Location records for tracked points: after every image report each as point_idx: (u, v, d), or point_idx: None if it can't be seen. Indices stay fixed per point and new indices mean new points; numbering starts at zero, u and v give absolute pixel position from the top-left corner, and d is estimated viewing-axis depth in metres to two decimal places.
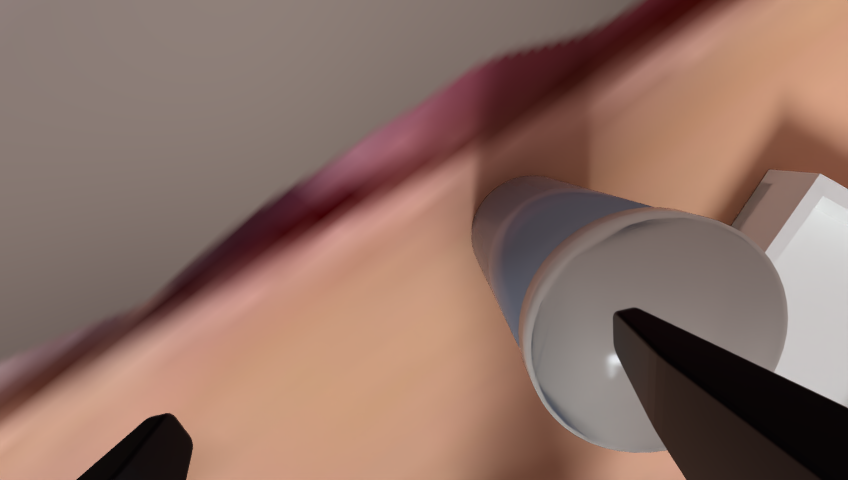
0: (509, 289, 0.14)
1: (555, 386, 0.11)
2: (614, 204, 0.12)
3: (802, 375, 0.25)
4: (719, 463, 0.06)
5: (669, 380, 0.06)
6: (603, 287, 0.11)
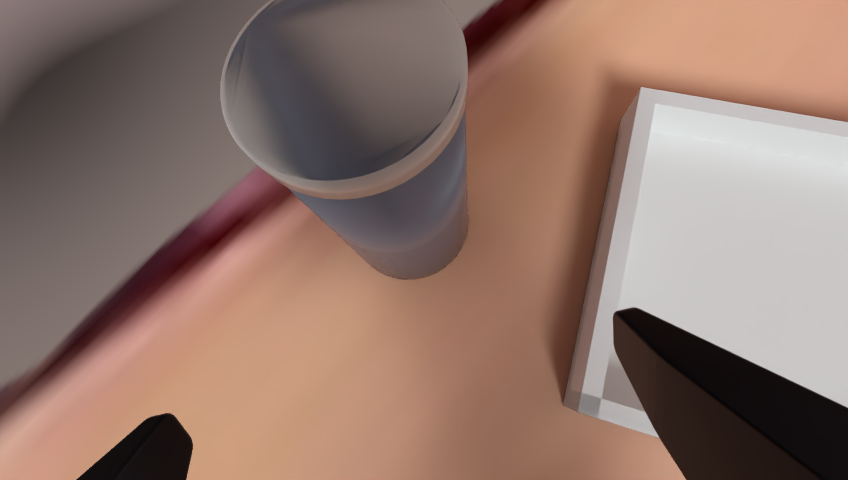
0: None
1: (251, 129, 0.11)
2: None
3: (785, 317, 0.19)
4: (719, 463, 0.06)
5: (669, 380, 0.06)
6: (281, 36, 0.12)
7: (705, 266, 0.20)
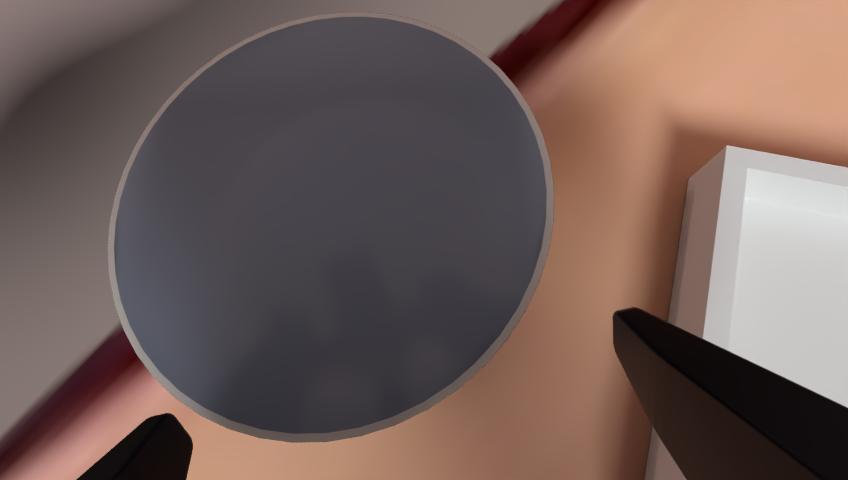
0: None
1: (156, 310, 0.06)
2: None
3: None
4: (719, 463, 0.06)
5: (669, 380, 0.06)
6: (221, 129, 0.07)
7: (819, 385, 0.15)
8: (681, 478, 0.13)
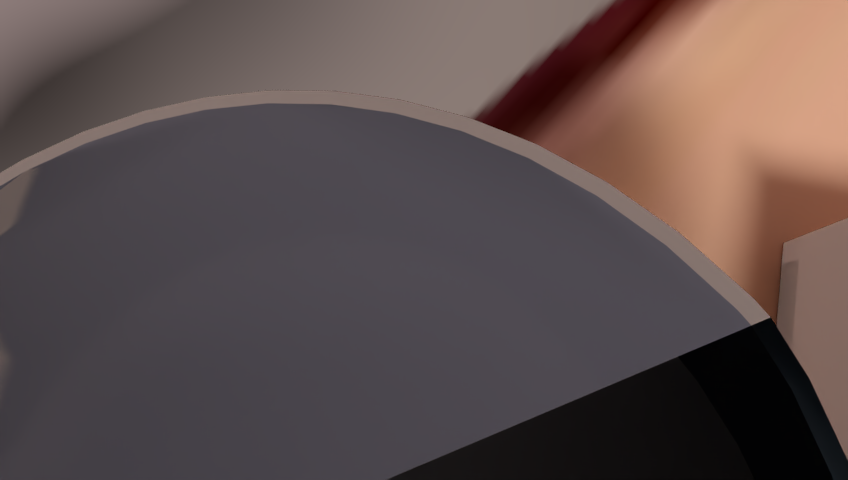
0: None
1: None
2: None
3: None
4: None
5: None
6: None
7: None
8: None
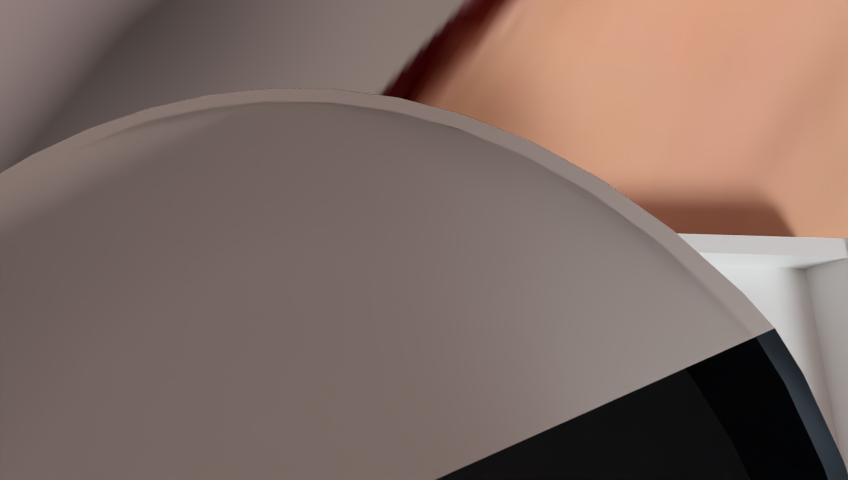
0: None
1: None
2: None
3: None
4: None
5: None
6: None
7: None
8: None
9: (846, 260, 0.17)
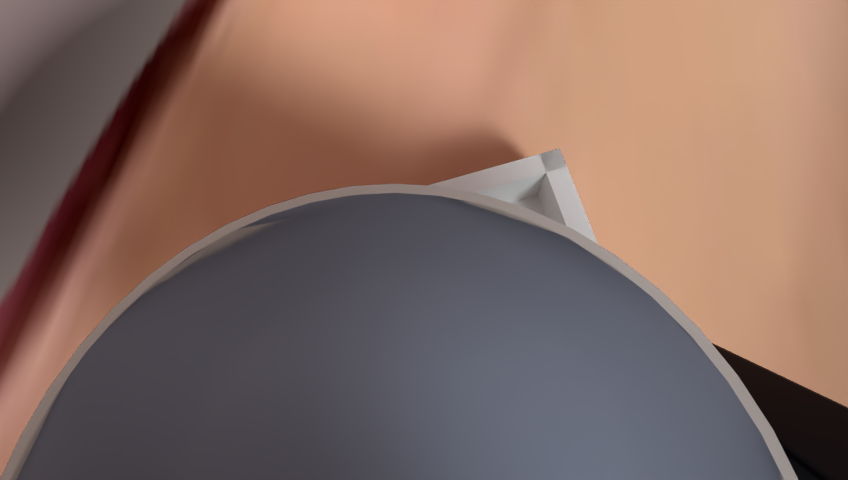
0: None
1: None
2: None
3: None
4: None
5: None
6: (180, 412, 0.04)
7: None
8: None
9: (546, 175, 0.16)
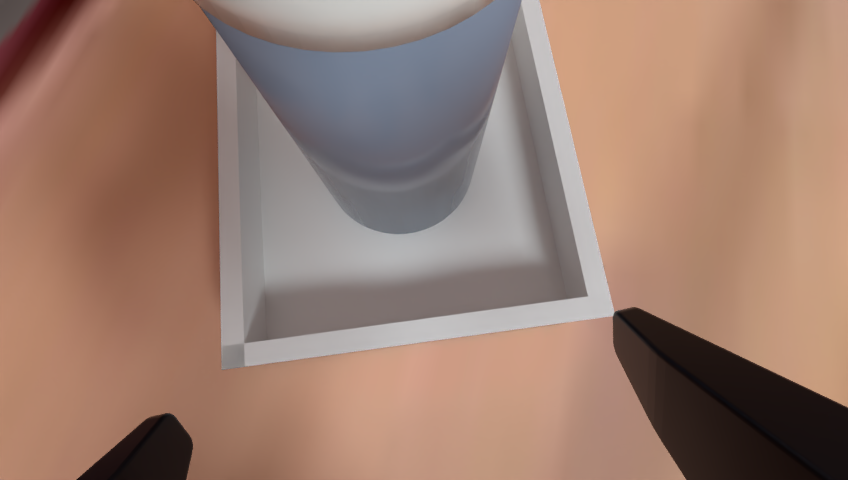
0: None
1: None
2: None
3: None
4: (719, 463, 0.06)
5: (669, 380, 0.06)
6: None
7: None
8: None
9: None
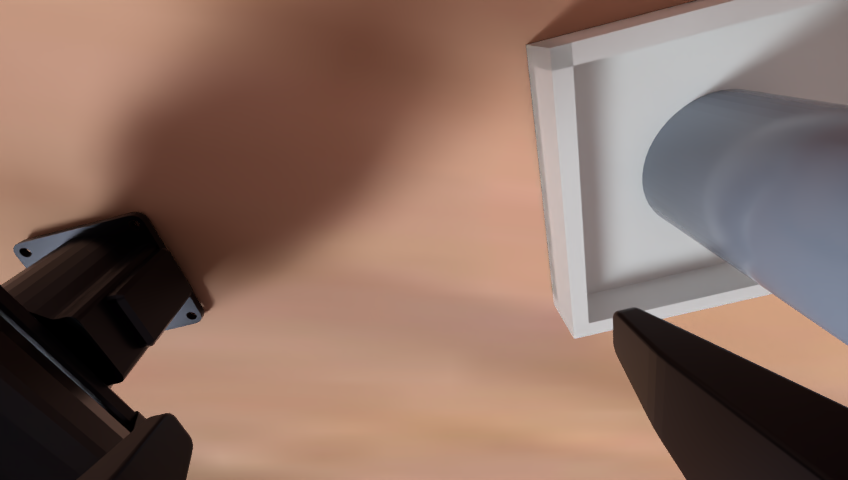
0: None
1: None
2: None
3: None
4: (719, 463, 0.06)
5: (669, 380, 0.06)
6: None
7: None
8: (653, 20, 0.15)
9: None
